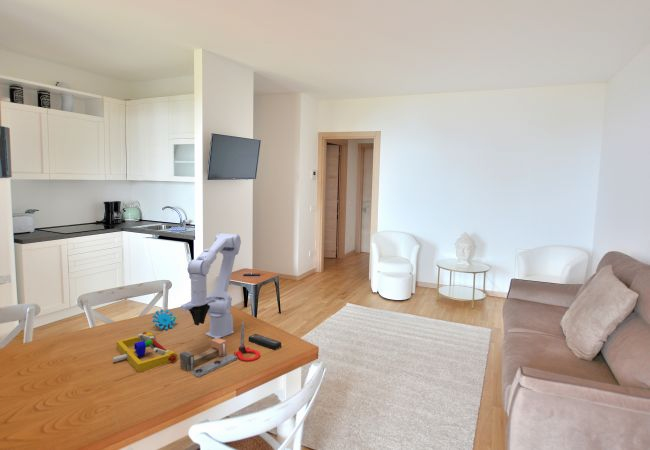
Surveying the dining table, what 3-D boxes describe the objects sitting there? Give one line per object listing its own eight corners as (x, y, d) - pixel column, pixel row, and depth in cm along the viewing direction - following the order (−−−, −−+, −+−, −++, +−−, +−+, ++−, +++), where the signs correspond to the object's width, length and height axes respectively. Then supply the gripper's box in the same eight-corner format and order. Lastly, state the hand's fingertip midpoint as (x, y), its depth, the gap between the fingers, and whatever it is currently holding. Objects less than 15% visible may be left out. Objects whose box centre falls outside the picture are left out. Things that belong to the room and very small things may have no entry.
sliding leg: (217, 350, 155) (217, 337, 155) (227, 355, 152) (227, 341, 151) (211, 353, 153) (211, 339, 152) (221, 357, 149) (221, 344, 149)
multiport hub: (274, 351, 157) (274, 346, 157) (247, 342, 165) (247, 336, 165) (281, 347, 161) (281, 342, 160) (255, 338, 168) (255, 333, 168)
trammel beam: (217, 350, 155) (217, 338, 154) (227, 355, 152) (227, 342, 151) (179, 367, 141) (179, 353, 141) (189, 372, 138) (188, 358, 137)
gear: (155, 329, 170) (151, 309, 174) (151, 336, 173) (146, 316, 177) (180, 326, 177) (175, 307, 182) (175, 333, 180) (170, 313, 185)
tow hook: (264, 357, 152) (249, 349, 158) (265, 325, 150) (250, 318, 156) (247, 365, 145) (231, 356, 151) (248, 332, 143) (232, 324, 149)
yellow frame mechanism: (148, 322, 167) (178, 346, 145) (149, 336, 168) (178, 362, 146) (100, 333, 154) (124, 361, 133) (101, 349, 155) (125, 379, 133)
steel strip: (230, 356, 151) (230, 353, 151) (237, 359, 149) (237, 356, 148) (191, 373, 137) (191, 370, 137) (198, 377, 135) (198, 374, 135)
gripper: (207, 284, 161) (208, 316, 163) (176, 292, 149) (176, 326, 151) (219, 287, 157) (219, 320, 159) (187, 296, 145) (187, 331, 147)
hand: (199, 324), depth 155 cm, fingers closed
